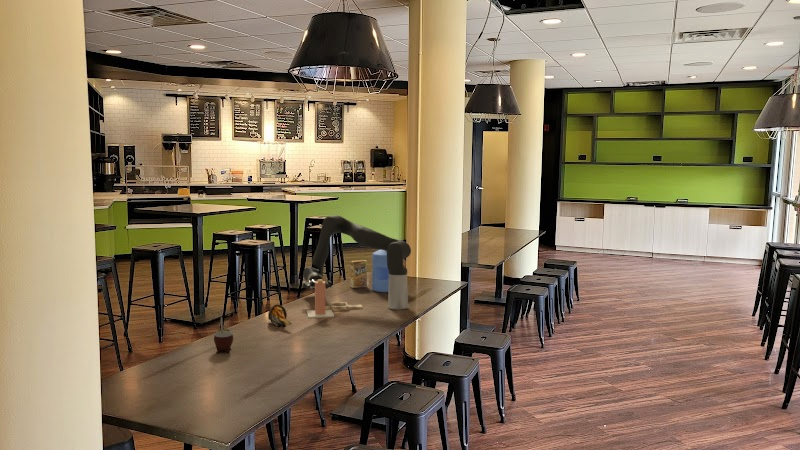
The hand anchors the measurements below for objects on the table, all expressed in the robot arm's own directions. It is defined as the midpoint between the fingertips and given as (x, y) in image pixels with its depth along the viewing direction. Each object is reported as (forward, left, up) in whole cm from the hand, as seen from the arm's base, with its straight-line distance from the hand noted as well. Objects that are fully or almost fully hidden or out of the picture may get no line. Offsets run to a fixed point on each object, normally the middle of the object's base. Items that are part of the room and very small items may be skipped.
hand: (318, 287), depth 309 cm
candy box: (-27, -47, -11) cm, 55 cm away
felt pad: (0, +12, -11) cm, 16 cm away
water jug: (-41, -37, -11) cm, 56 cm away
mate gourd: (+41, +63, -11) cm, 76 cm away
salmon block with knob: (0, +12, -10) cm, 16 cm away
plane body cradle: (-10, +2, -11) cm, 15 cm away
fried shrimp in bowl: (+19, +29, -11) cm, 36 cm away
